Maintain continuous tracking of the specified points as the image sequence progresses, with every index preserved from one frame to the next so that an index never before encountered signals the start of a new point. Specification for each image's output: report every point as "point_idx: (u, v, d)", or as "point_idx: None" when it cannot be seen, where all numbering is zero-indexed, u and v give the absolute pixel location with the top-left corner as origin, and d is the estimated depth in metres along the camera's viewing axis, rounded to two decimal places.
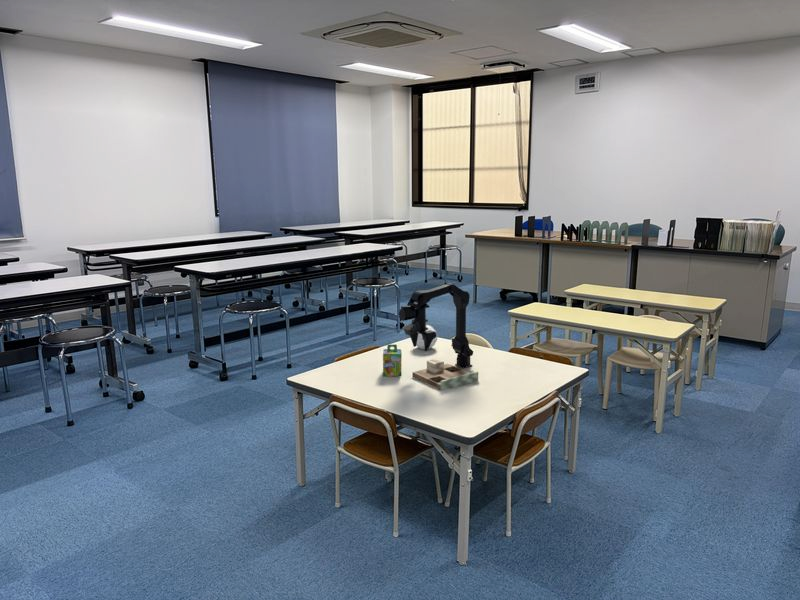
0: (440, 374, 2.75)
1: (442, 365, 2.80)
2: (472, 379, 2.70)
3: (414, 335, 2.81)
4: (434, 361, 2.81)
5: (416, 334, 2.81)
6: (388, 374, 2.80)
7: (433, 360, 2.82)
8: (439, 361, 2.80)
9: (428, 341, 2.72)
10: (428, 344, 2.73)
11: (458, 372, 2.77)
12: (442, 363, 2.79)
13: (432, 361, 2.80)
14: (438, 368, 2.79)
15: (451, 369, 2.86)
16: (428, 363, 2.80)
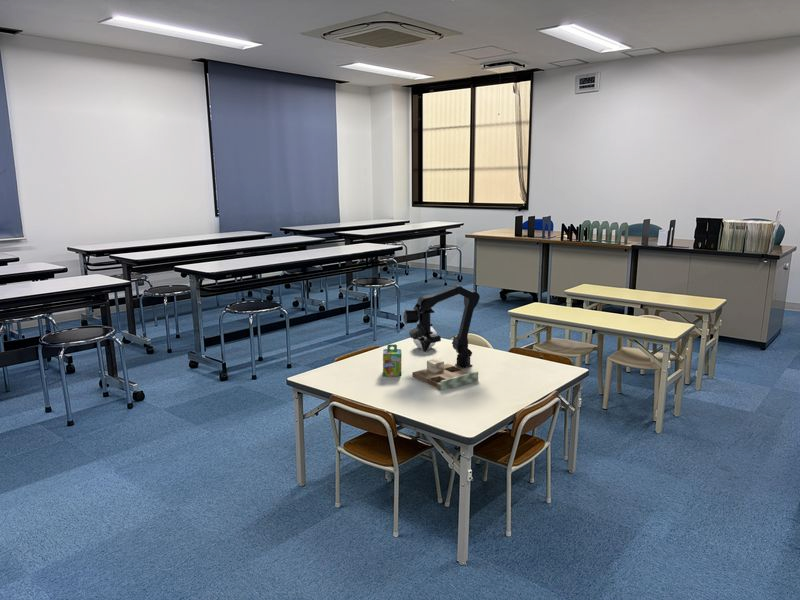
0: (440, 374, 2.75)
1: (442, 365, 2.80)
2: (472, 379, 2.70)
3: None
4: (434, 361, 2.81)
5: None
6: (388, 374, 2.80)
7: (433, 360, 2.82)
8: (439, 361, 2.80)
9: (427, 343, 2.85)
10: (427, 346, 2.85)
11: (458, 372, 2.77)
12: (442, 363, 2.79)
13: (432, 361, 2.80)
14: (438, 368, 2.79)
15: (451, 369, 2.86)
16: (428, 363, 2.80)
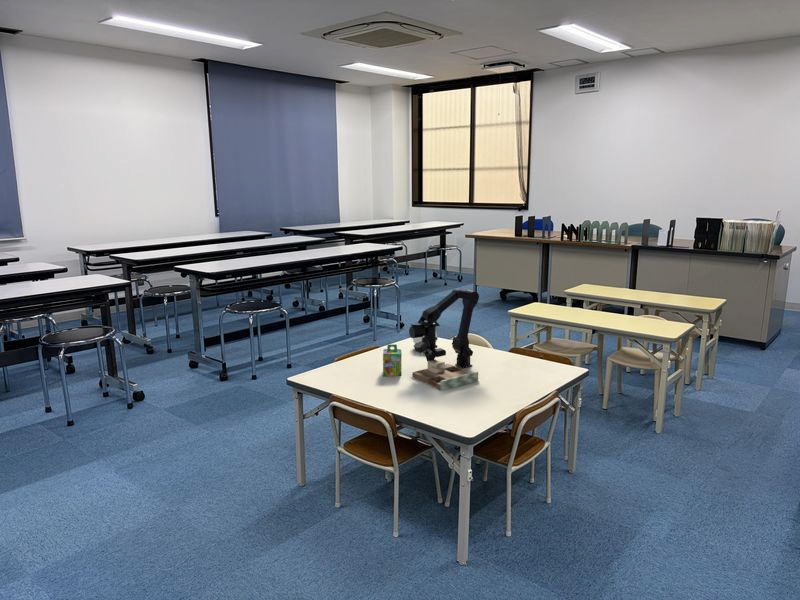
0: (440, 374, 2.75)
1: (443, 365, 2.79)
2: (472, 379, 2.70)
3: None
4: (434, 361, 2.80)
5: None
6: (388, 374, 2.80)
7: (434, 360, 2.81)
8: (440, 361, 2.79)
9: (432, 356, 2.83)
10: (432, 359, 2.83)
11: (458, 372, 2.77)
12: (443, 363, 2.79)
13: (433, 361, 2.79)
14: (439, 369, 2.78)
15: (451, 369, 2.86)
16: (429, 363, 2.80)
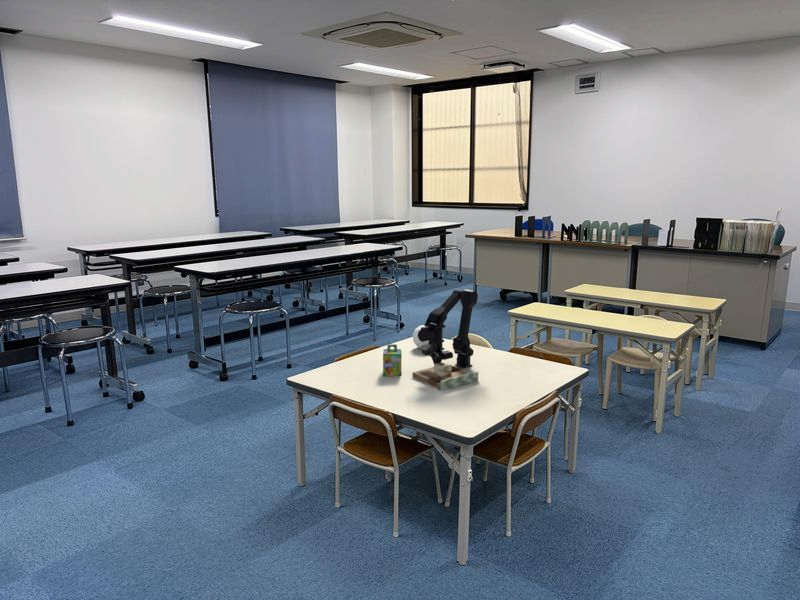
0: None
1: (450, 368, 2.75)
2: (472, 379, 2.70)
3: None
4: (441, 364, 2.76)
5: None
6: (388, 374, 2.80)
7: (440, 363, 2.77)
8: (447, 364, 2.75)
9: (439, 359, 2.79)
10: (439, 362, 2.79)
11: (458, 372, 2.77)
12: (450, 366, 2.74)
13: (439, 364, 2.75)
14: (446, 372, 2.74)
15: None
16: (435, 366, 2.75)
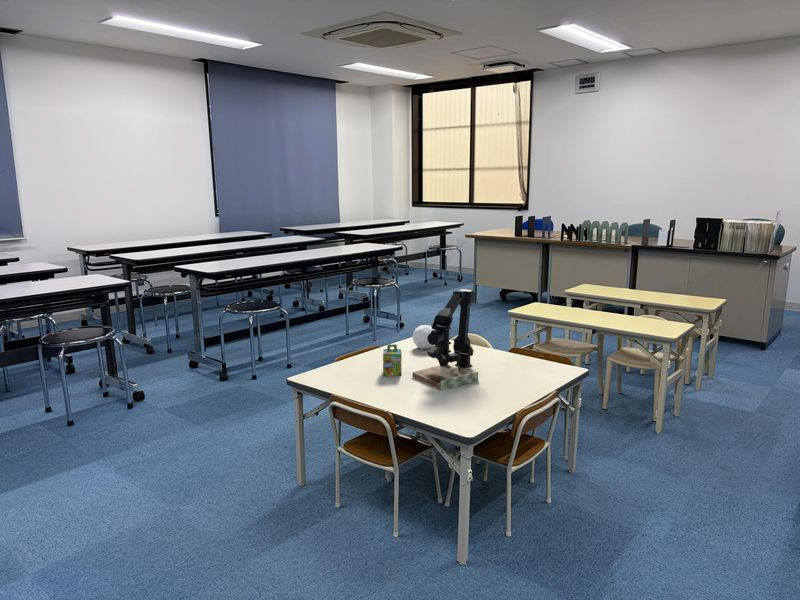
0: None
1: (456, 371, 2.70)
2: (472, 379, 2.70)
3: None
4: (448, 367, 2.71)
5: None
6: (388, 374, 2.80)
7: (447, 366, 2.72)
8: (453, 367, 2.71)
9: (445, 361, 2.74)
10: (445, 364, 2.75)
11: (458, 372, 2.77)
12: (456, 369, 2.70)
13: (446, 367, 2.71)
14: (453, 375, 2.69)
15: None
16: (442, 369, 2.71)
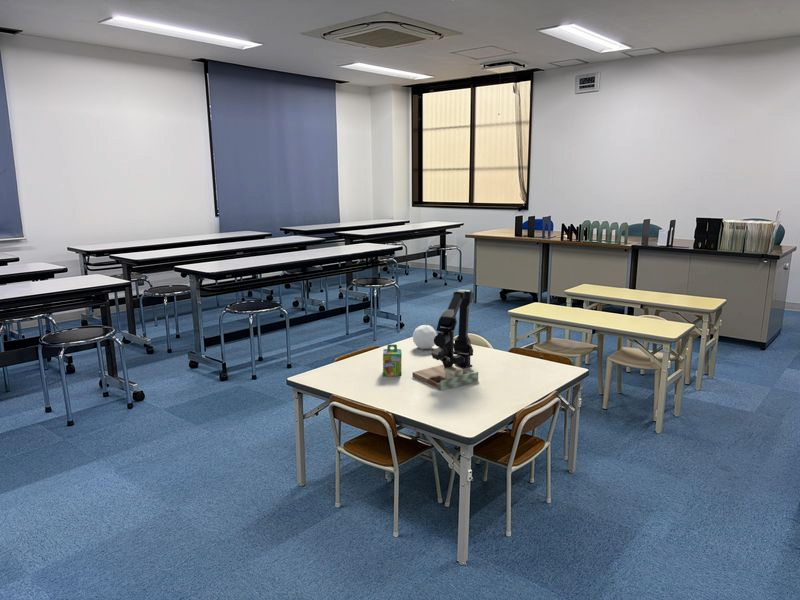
0: (440, 374, 2.75)
1: (461, 373, 2.68)
2: (472, 379, 2.70)
3: None
4: (452, 368, 2.69)
5: None
6: (388, 374, 2.80)
7: (451, 368, 2.70)
8: (458, 369, 2.68)
9: (450, 363, 2.72)
10: (450, 366, 2.72)
11: None
12: (461, 371, 2.68)
13: (450, 369, 2.68)
14: None
15: None
16: (446, 371, 2.69)
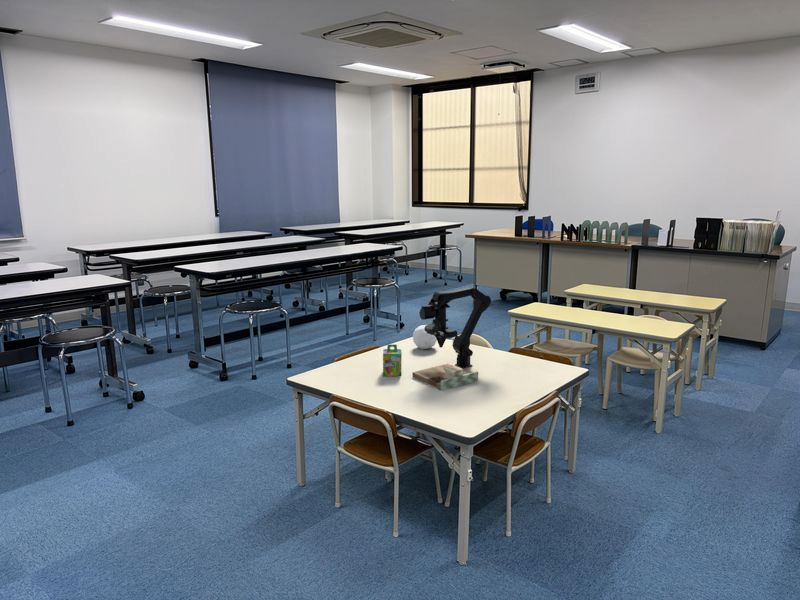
0: (440, 374, 2.75)
1: (461, 373, 2.68)
2: (472, 379, 2.70)
3: None
4: (452, 368, 2.69)
5: None
6: (388, 374, 2.80)
7: (451, 368, 2.70)
8: (458, 369, 2.68)
9: (443, 338, 2.85)
10: (443, 341, 2.85)
11: None
12: (461, 371, 2.68)
13: (450, 369, 2.68)
14: None
15: None
16: (446, 371, 2.69)
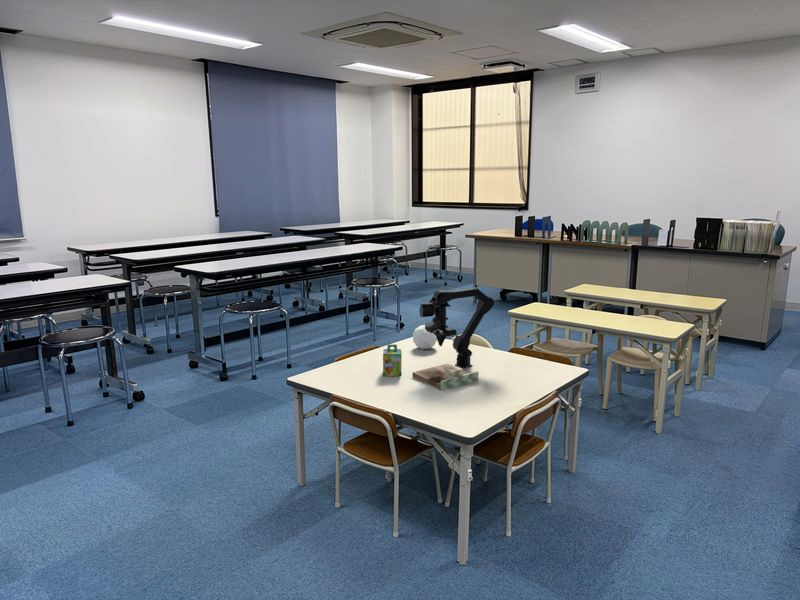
0: (440, 374, 2.75)
1: (461, 373, 2.68)
2: (472, 379, 2.70)
3: None
4: (452, 368, 2.69)
5: None
6: (388, 374, 2.80)
7: (451, 368, 2.70)
8: (458, 369, 2.68)
9: (443, 336, 2.87)
10: (442, 339, 2.87)
11: None
12: (461, 371, 2.68)
13: (450, 369, 2.68)
14: None
15: None
16: (446, 371, 2.69)
